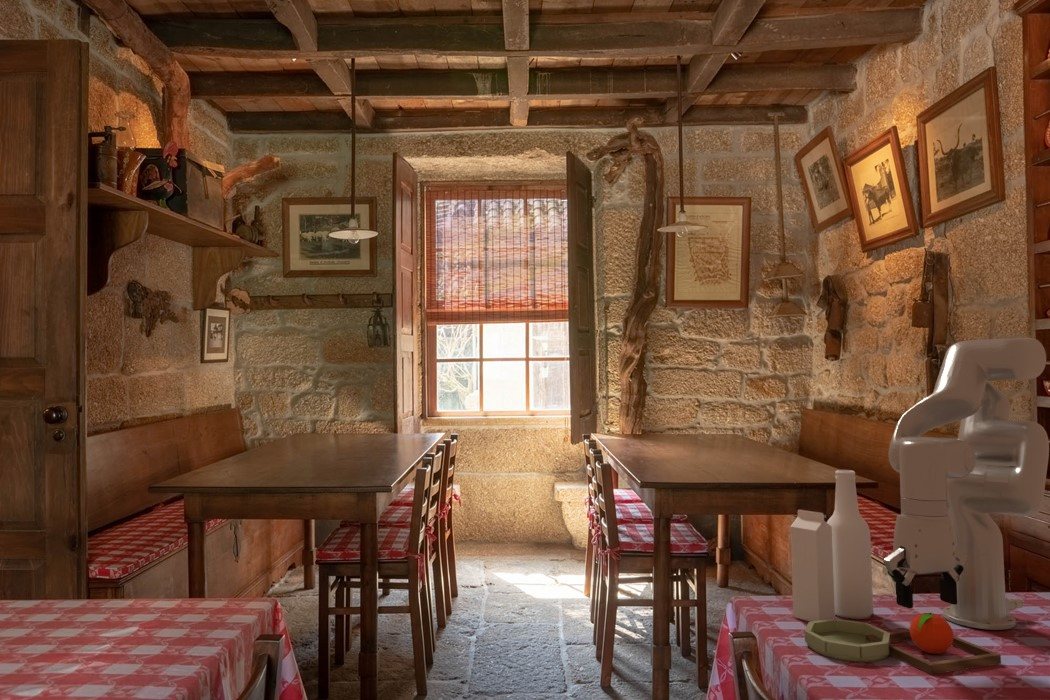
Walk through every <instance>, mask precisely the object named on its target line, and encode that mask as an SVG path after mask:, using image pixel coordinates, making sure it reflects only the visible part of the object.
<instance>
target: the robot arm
mask: <svg viewBox="0 0 1050 700" xmlns="http://www.w3.org/2000/svg"><path fill="white" fill-rule="evenodd" d="M1046 365H1047V353H1046V349H1045V347H1044V346H1043V344H1042V342H1040V341H1039V340H1038V339H1036V338H1035V337H1020V338H1019V337H1017V338H995V339H994V338H992V339H971V340H969V339H968V340H962V341H958V342H956V343H953V344H952V345H950V346H949V347H948V348H947V350H946V352H945V355H944V358H943V360H942V364H941V366H940V370H939V371H938V372H939V373H938V375H937V379H936V382H935V385H934V389H933V392H932V393H931V394H930V395H928V396H926V397H924V398H923V399H922V400H919V402H917V403H915V404H914V405H912V406H911V408H909V409H908V410H906V412H904V413H903V414H902V415H901V416H900V418H899V420H898V421H897V423H896V424H895V427H894V431H893V433H892V436H891V440H890V443H889V447H888V462H889V464H890V466H891V467H892V469H893V470H894V471H896V472H897V473H899V484H900V485H899V488H900V492H899V493H900V514H897V515H896V521H895V524H894V531H893V544H892V546H893V547H892V548H893V549H892V553H890V554H889V555H887V556H886V557H885V558H884V559H883V564H884V566H885V568H886V570H887V574H888V575H889V576H890V577H891V579H892V581H893V582H894V583H895V590H896V591H895V594H896V595H895V596H896V597H895V598H896V601H895V602H896V604H897V605H899V606H901V607H904V608H907V609H913V608H914V596H913V595H914V592H913V589H914V588H913V585H912V584H911V585H910V583H911V582H912V581H913V578H914V577H915V575H927V574H940V575H941V577H940V578H939V599H940V600H941V602H945V603H948V604H950V605H948V606H946V607H944V608H942V616H943V618H945V620H946V621H947V620H948V621H949V622H952V623H955V624H956V625H957V624H958V625H960V626H963V627H968V628H974V629H978V630H979V629H980V630H989V631H990V630H991V631H1002V630H1010V629H1013V628H1015V627H1016V625H1017V623H1016V622H1017V620H1016V618H1015V617H1014V616H1013V615H1011V614H1010V612H1011V611H1012V610H1015V609H1016V610H1017V609H1022V608H1023V607H1024V602H1023V600H1022V599H1020V598H1019V597H1017V598H1011V599H1009V598H1007V597H1006V584H1005V583H1006V582H1005V563H1004V562H1005V561H1004V559H1005V558H1004V539H1003V534H1002V531H1001V529H1000V527H999V526H998V525H997V523H996V522H995V521H994V520H993V518H992V517H991V516H990V514H998V515H1007V516H1015V517H1032V516H1035V515H1037V514H1038V513H1039V512H1040V511H1041V509H1042V506H1043V502H1044V496H1045V488H1046V480H1047V472H1048V467H1049V466H1048V465H1049V458H1050V457H1049V456H1050V454H1049V453H1050V442H1049V437H1048V432H1047V431H1046V430H1045V428H1044V426H1042V425H1041V424H1040V423H1038V422H1036V421H1032V420H1025V419H1023V420H1022V419H1010V414H1011V403H1010V402H1011V401H1010V400H1009V399H1008V397H1007V396H1006V395H1005V393H1004V392H1003V391H1001V390H1000V389H999V388H998V387H997V386H996V385H994V384H993V383H992V382H993V381H994V382H998V381H999V382H1000V381H1002V382H1003V381H1006V382H1007V381H1008V382H1009V381H1028V380H1033V379H1036V378H1038V377H1039V376H1041V374H1042V373H1043V372H1044V370H1045V368H1046ZM959 421H960V423H959V429H958V434H957V438H951V437H934V436H933V437H932V436H923V435H924V434H926V433H927V432H929V431H931V430H934V429H936V428H939V427H942V426H946V425H950V424H952V423H955V422H959ZM904 574H905V575H904Z"/></svg>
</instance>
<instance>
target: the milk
mask: <svg viewBox="0 0 1050 700" xmlns="http://www.w3.org/2000/svg"><path fill="white" fill-rule="evenodd" d="M824 517H825V515H824V513H823V512H818V511H811V510H806V509H805V510H804V509H798V510H797V517H796V518H795V520H794V521H793V522H792V524H791V525H790V529H789V530H790V531H789V533H790V556H791V584H792V585H791V586H792V615H793V616H792V617H793V618H796V619H800V620H803V621H807V622H810V621H818V620H826V619H833V618H834V619H836V615H835V604H834V577H833V549H832V527H831V526H830V525H829V524H828V523H827V521H825V518H824Z"/></svg>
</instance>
